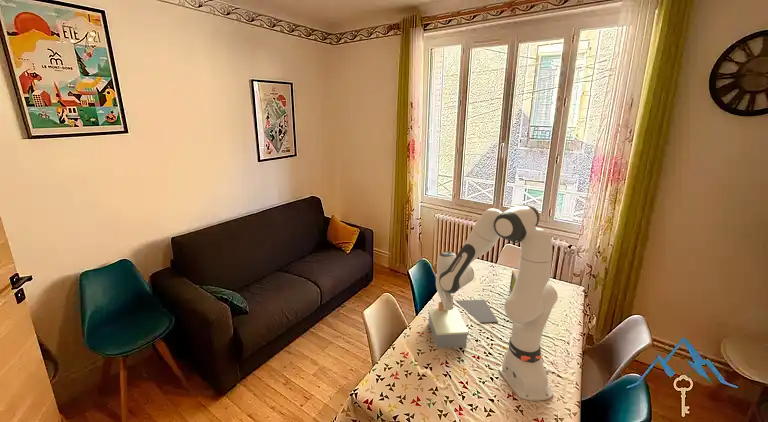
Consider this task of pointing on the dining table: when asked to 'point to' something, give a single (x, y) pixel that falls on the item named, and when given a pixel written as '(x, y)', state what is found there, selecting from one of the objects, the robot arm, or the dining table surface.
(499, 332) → the dining table surface
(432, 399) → the dining table surface
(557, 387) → the dining table surface
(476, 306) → the mat
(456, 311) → the lid
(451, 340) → the tub
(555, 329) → the dining table surface
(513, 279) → the tea box
